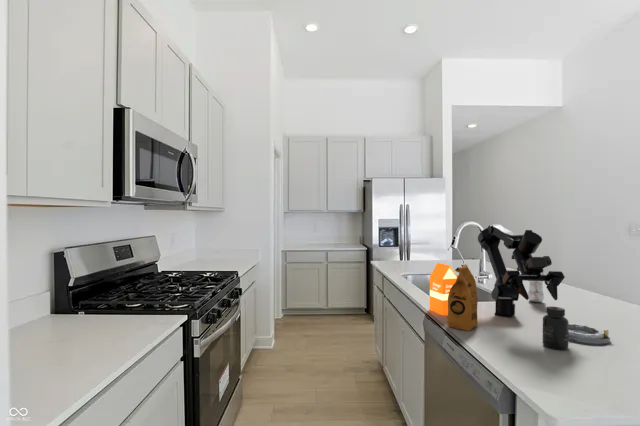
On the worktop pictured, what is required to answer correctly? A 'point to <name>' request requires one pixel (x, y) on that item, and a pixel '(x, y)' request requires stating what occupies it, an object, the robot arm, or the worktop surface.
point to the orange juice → (441, 287)
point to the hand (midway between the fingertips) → (542, 299)
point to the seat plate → (590, 342)
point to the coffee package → (463, 301)
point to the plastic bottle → (536, 290)
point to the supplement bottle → (555, 329)
